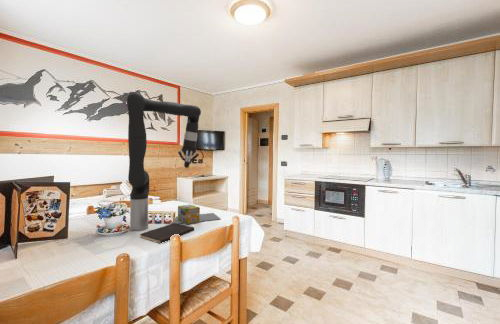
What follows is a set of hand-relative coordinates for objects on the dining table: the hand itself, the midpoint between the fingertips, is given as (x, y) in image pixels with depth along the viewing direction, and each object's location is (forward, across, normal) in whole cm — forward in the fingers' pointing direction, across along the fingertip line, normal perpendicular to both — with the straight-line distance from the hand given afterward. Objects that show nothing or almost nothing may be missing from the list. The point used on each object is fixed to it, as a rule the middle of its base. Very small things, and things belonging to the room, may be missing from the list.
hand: (186, 167), depth 149 cm
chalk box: (+28, -7, +7) cm, 30 cm away
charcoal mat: (+34, -11, -2) cm, 36 cm away
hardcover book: (+34, +8, +20) cm, 40 cm away
